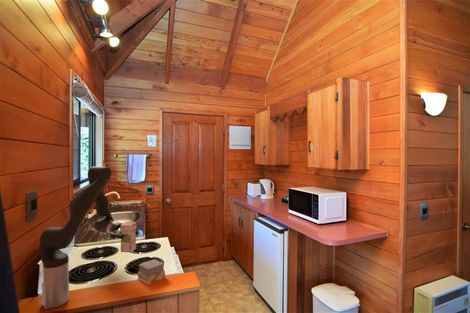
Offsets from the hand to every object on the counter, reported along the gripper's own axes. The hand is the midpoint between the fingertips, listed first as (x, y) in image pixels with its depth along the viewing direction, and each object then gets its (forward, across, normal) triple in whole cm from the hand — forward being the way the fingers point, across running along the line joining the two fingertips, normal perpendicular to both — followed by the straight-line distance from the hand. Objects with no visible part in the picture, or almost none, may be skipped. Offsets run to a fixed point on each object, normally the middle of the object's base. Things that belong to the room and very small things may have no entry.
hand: (130, 235), depth 129 cm
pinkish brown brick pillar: (-2, 0, +9) cm, 9 cm away
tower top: (+6, +8, +20) cm, 23 cm away
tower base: (+7, +8, +24) cm, 26 cm away
